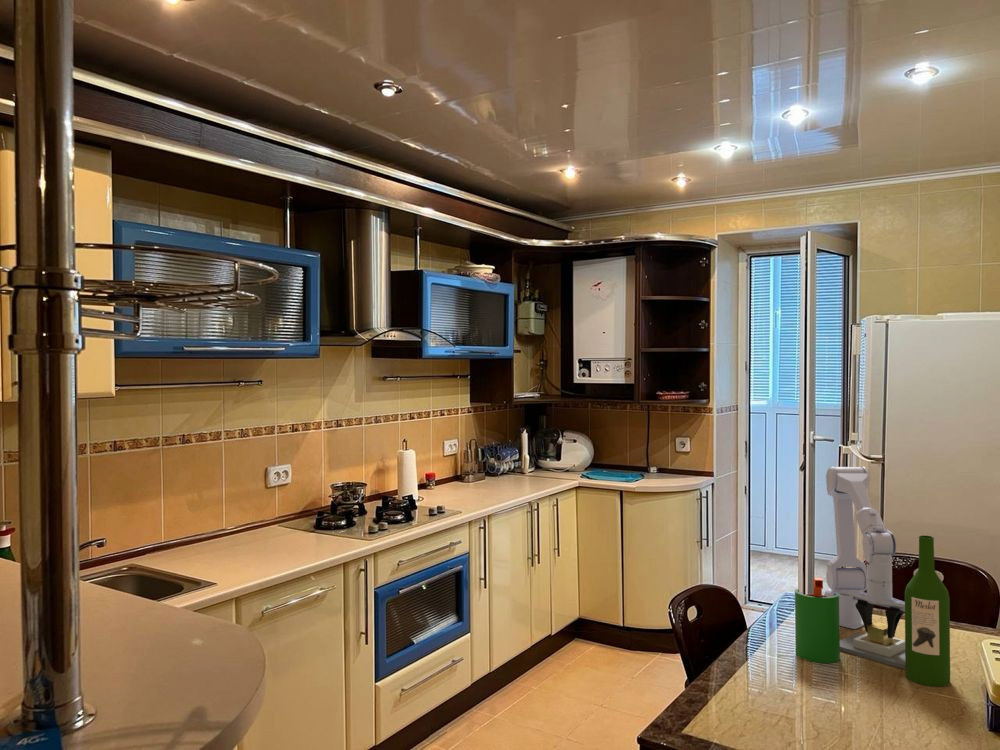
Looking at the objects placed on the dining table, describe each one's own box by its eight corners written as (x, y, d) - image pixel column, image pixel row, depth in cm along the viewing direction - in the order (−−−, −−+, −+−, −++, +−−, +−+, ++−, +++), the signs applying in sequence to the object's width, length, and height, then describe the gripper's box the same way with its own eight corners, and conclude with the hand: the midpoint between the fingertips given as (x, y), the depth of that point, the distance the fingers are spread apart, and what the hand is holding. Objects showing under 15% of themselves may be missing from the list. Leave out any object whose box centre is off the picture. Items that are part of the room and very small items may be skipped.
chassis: (831, 648, 193) (831, 636, 193) (858, 636, 202) (858, 625, 202) (904, 669, 179) (904, 656, 179) (930, 655, 188) (930, 643, 188)
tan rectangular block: (867, 647, 191) (867, 625, 191) (876, 643, 194) (876, 621, 194) (883, 652, 188) (883, 629, 188) (893, 647, 191) (892, 625, 191)
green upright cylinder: (833, 650, 191) (832, 571, 192) (846, 664, 183) (845, 581, 183) (792, 649, 192) (791, 570, 193) (802, 662, 184) (801, 580, 184)
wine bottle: (905, 682, 171) (904, 538, 171) (905, 669, 179) (904, 531, 179) (951, 690, 167) (950, 542, 167) (949, 675, 175) (947, 534, 175)
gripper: (843, 576, 194) (843, 630, 194) (901, 589, 182) (902, 645, 182) (856, 572, 198) (857, 624, 198) (914, 584, 187) (915, 639, 187)
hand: (879, 634), depth 191 cm, fingers open, 5 cm apart
